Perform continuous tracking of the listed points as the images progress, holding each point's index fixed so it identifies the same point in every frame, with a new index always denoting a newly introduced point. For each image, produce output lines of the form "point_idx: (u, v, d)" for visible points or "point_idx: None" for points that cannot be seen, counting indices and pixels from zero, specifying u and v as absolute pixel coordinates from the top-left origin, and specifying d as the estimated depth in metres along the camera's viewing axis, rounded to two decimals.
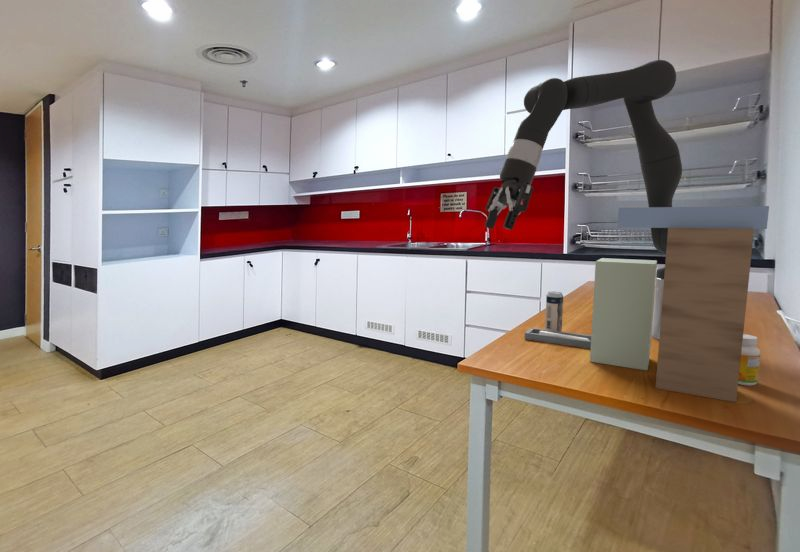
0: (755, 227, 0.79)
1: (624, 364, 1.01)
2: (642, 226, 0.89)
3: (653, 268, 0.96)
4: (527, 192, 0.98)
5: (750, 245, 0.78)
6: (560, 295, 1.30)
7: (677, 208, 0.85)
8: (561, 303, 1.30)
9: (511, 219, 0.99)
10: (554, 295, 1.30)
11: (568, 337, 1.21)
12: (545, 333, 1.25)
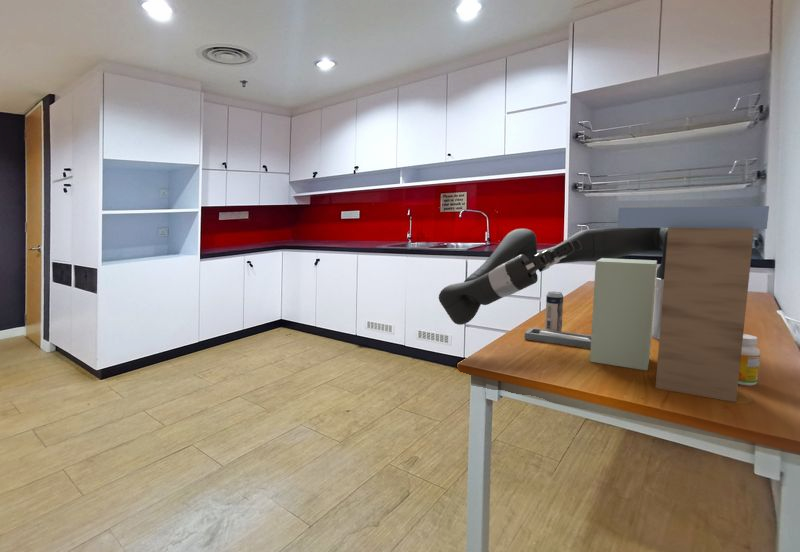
0: (755, 227, 0.79)
1: (624, 364, 1.01)
2: (642, 226, 0.89)
3: (653, 268, 0.96)
4: None
5: (750, 245, 0.78)
6: (560, 295, 1.30)
7: (677, 208, 0.85)
8: (561, 303, 1.30)
9: None
10: (554, 295, 1.30)
11: (569, 337, 1.21)
12: (545, 333, 1.25)
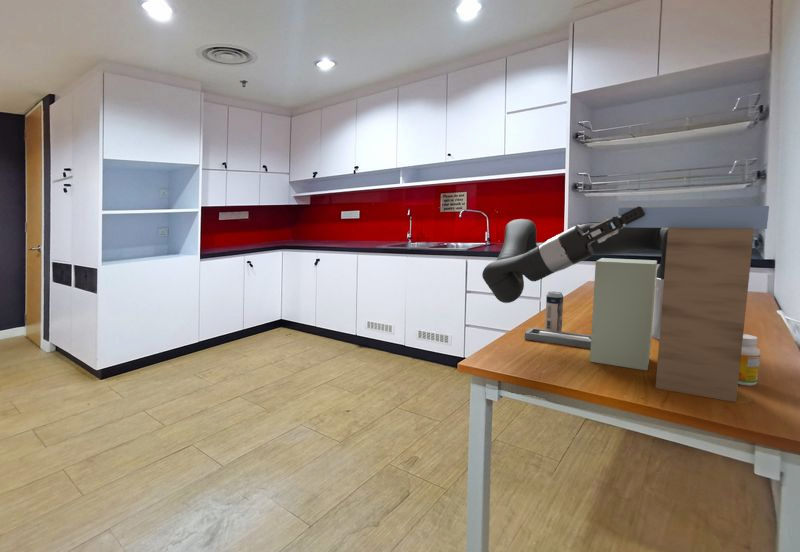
0: (755, 227, 0.79)
1: (624, 364, 1.01)
2: (642, 226, 0.89)
3: (653, 268, 0.96)
4: None
5: (750, 245, 0.78)
6: (560, 295, 1.30)
7: (677, 208, 0.85)
8: (561, 303, 1.30)
9: None
10: (554, 295, 1.30)
11: (569, 337, 1.21)
12: (545, 333, 1.25)
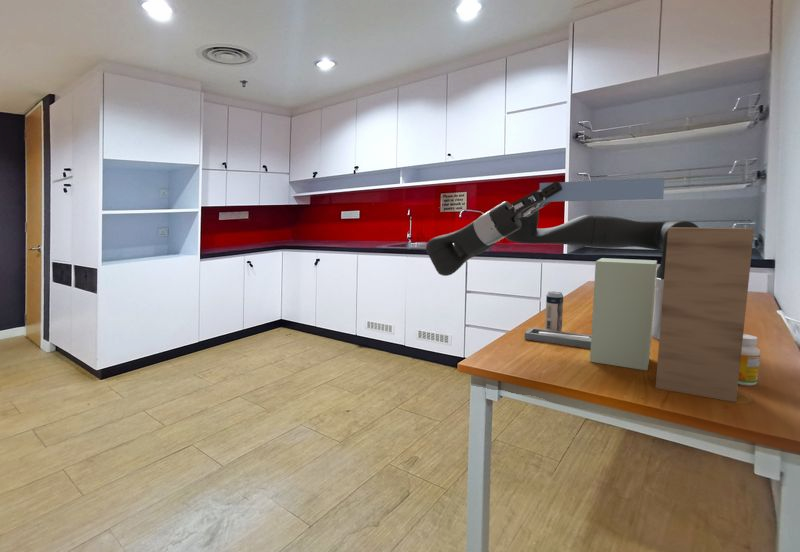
0: (653, 197, 0.88)
1: (624, 364, 1.01)
2: (560, 199, 0.97)
3: (653, 268, 0.96)
4: None
5: (750, 245, 0.78)
6: (560, 295, 1.30)
7: (588, 181, 0.94)
8: (561, 303, 1.30)
9: None
10: (554, 295, 1.30)
11: (570, 336, 1.22)
12: (545, 334, 1.24)
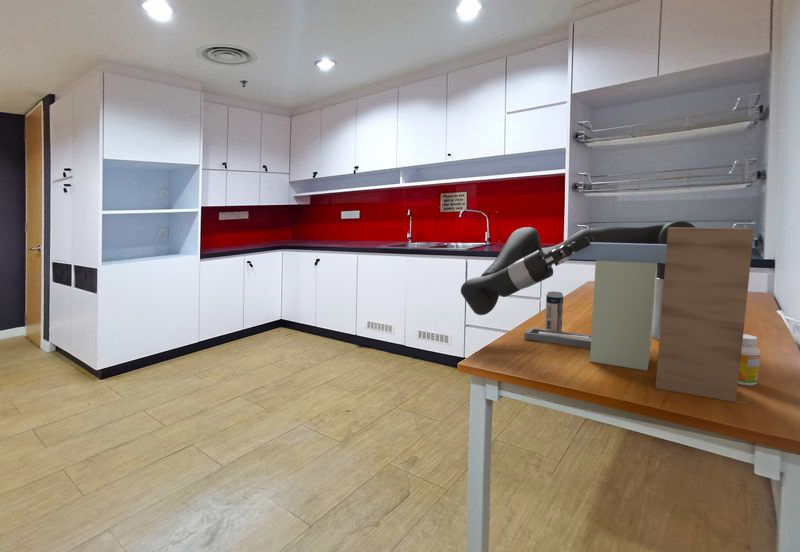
0: None
1: (624, 364, 1.01)
2: (590, 259, 1.06)
3: (653, 268, 0.96)
4: None
5: (750, 245, 0.78)
6: (560, 295, 1.30)
7: (617, 244, 1.02)
8: (561, 303, 1.30)
9: None
10: (554, 295, 1.30)
11: (570, 336, 1.22)
12: (545, 334, 1.24)
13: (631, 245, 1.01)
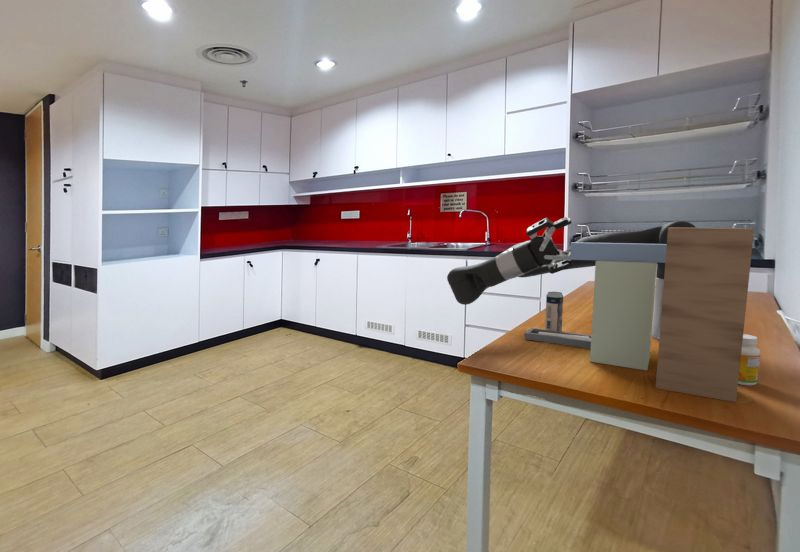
0: None
1: (624, 364, 1.01)
2: (590, 259, 1.05)
3: (653, 268, 0.96)
4: None
5: (750, 245, 0.78)
6: (560, 295, 1.30)
7: (618, 244, 1.02)
8: (561, 303, 1.30)
9: None
10: (554, 295, 1.30)
11: (570, 336, 1.22)
12: (545, 334, 1.24)
13: (632, 245, 1.01)
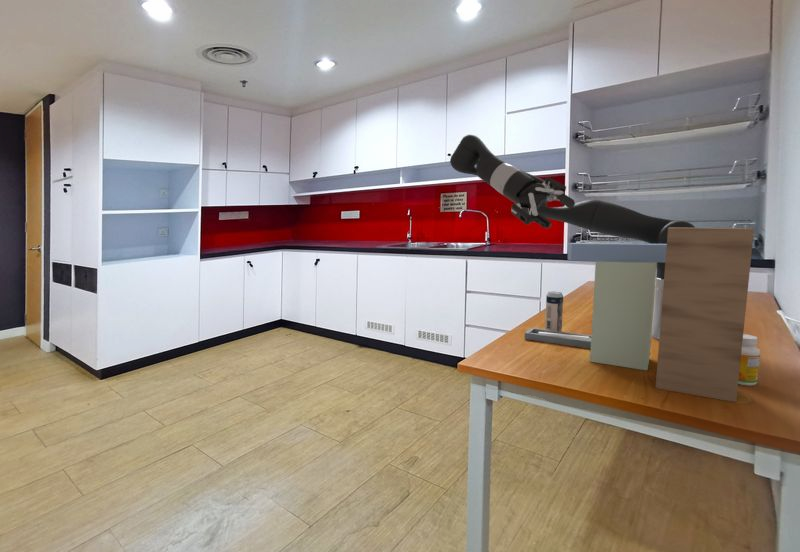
0: None
1: (624, 364, 1.01)
2: (591, 260, 1.02)
3: (653, 268, 0.96)
4: (515, 212, 1.11)
5: (750, 245, 0.78)
6: (560, 295, 1.30)
7: (618, 245, 1.01)
8: (561, 303, 1.30)
9: (540, 224, 1.08)
10: (554, 295, 1.30)
11: (569, 336, 1.22)
12: (545, 334, 1.24)
13: (632, 245, 1.00)
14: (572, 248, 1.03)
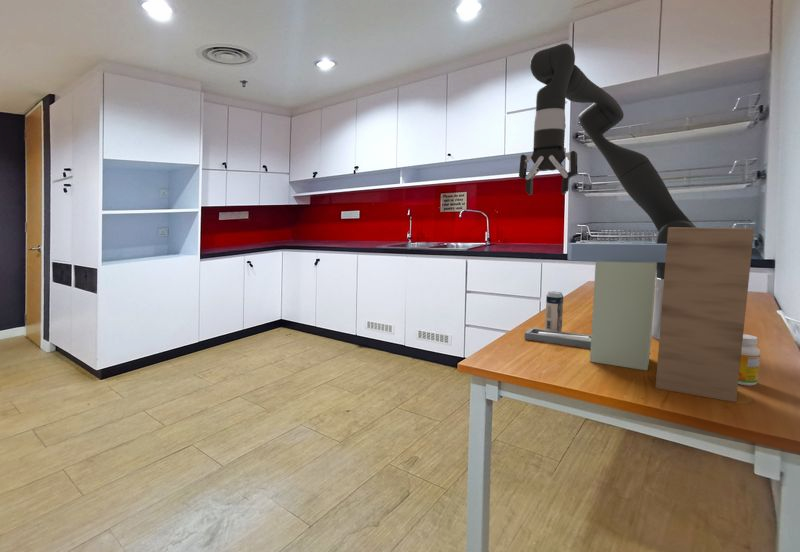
0: None
1: (624, 364, 1.01)
2: (591, 260, 1.02)
3: (653, 268, 0.96)
4: None
5: (750, 245, 0.78)
6: (560, 295, 1.30)
7: (618, 245, 1.01)
8: (561, 303, 1.30)
9: None
10: (554, 295, 1.30)
11: (569, 336, 1.22)
12: (545, 334, 1.24)
13: (632, 245, 1.00)
14: (572, 248, 1.03)
